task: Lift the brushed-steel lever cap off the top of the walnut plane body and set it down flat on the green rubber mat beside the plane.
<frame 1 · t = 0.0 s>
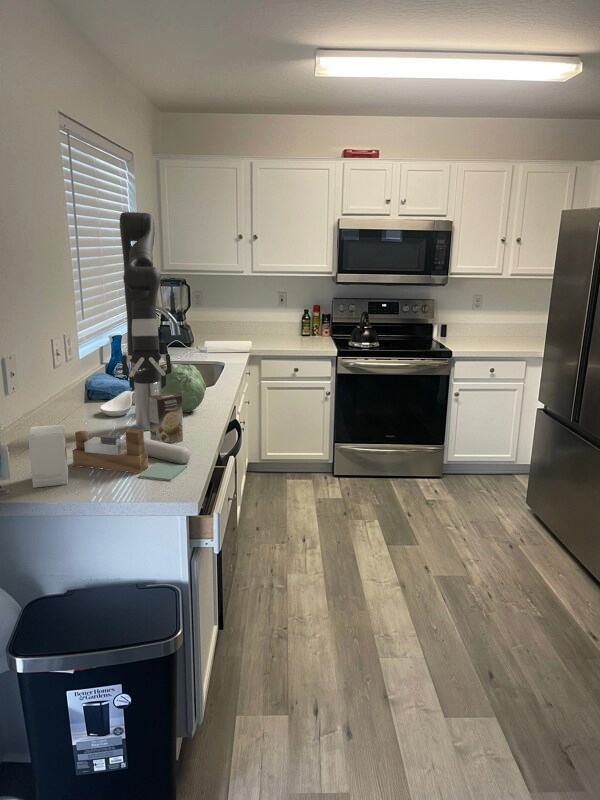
hand: (148, 388, 174), 22 cm above the countertop, tool pointing down, fingers open, 8 cm apart
plane body: (110, 466, 173), on the countertop
lever cap: (106, 450, 172), point 5 cm above the countertop, touching plane body
mat: (163, 472, 169), on the countertop
tube: (152, 455, 180), point 1 cm above the countertop
cabbage: (183, 412, 235), on the countertop
spoon rest: (123, 411, 235), on the countertop
coffee box: (167, 442, 197), on the countertop
supplement box: (51, 481, 162), on the countertop
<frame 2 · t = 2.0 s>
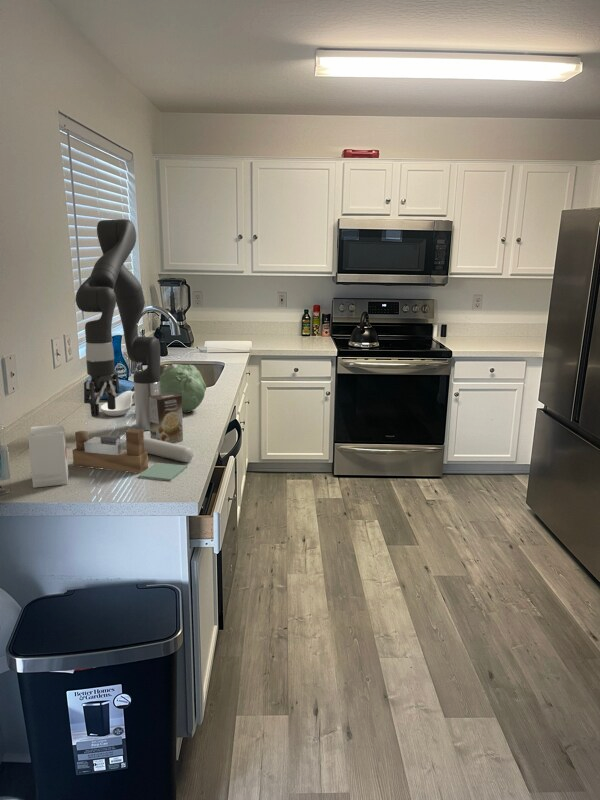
hand: (103, 412, 169), 17 cm above the countertop, tool pointing down, fingers open, 8 cm apart
tube: (154, 450, 180), point 2 cm above the countertop
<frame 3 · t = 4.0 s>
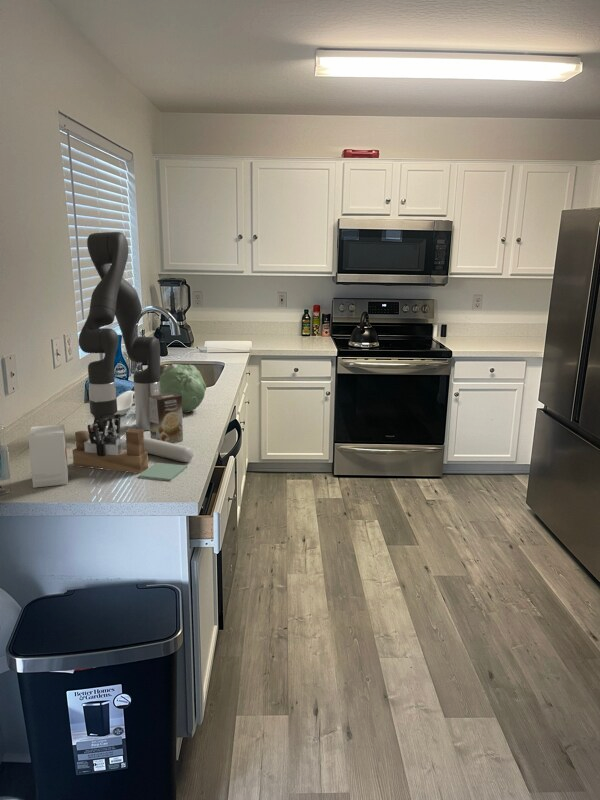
hand: (106, 452, 172), 5 cm above the countertop, tool pointing down, fingers closed on lever cap, 5 cm apart
lever cap: (106, 450, 172), point 5 cm above the countertop, touching gripper, plane body
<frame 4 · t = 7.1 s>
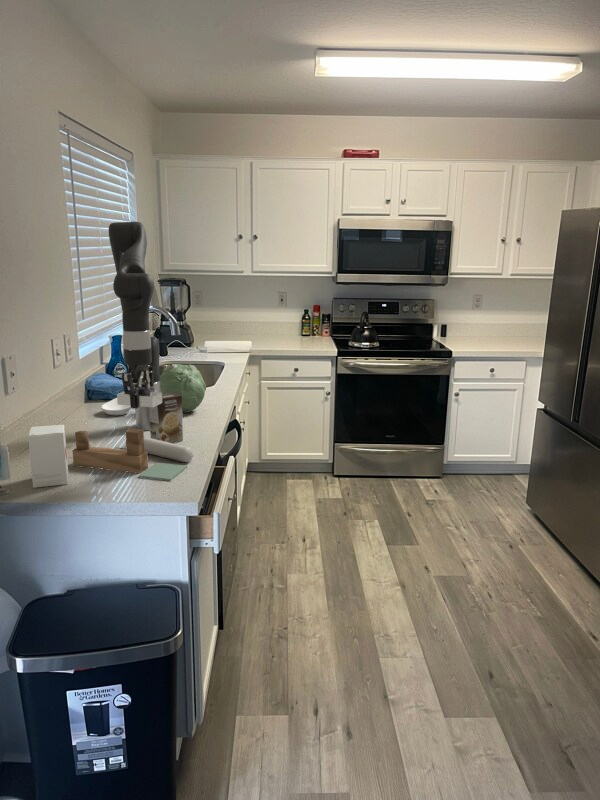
hand: (140, 405, 165), 20 cm above the countertop, tool pointing down, fingers closed on lever cap, 5 cm apart
lever cap: (140, 403, 165), point 20 cm above the countertop, touching gripper
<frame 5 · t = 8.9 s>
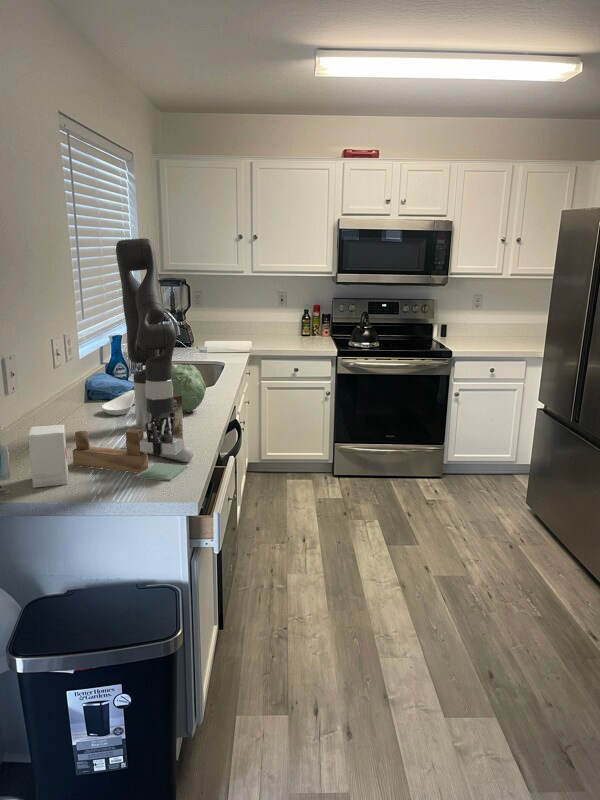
hand: (162, 451, 167), 6 cm above the countertop, tool pointing down, fingers closed on lever cap, 5 cm apart
lever cap: (162, 449, 167), point 7 cm above the countertop, touching gripper
when the fingers open (1 cm above the countertop, at t = 10.4 s): lever cap drops 1 cm, resting on mat.
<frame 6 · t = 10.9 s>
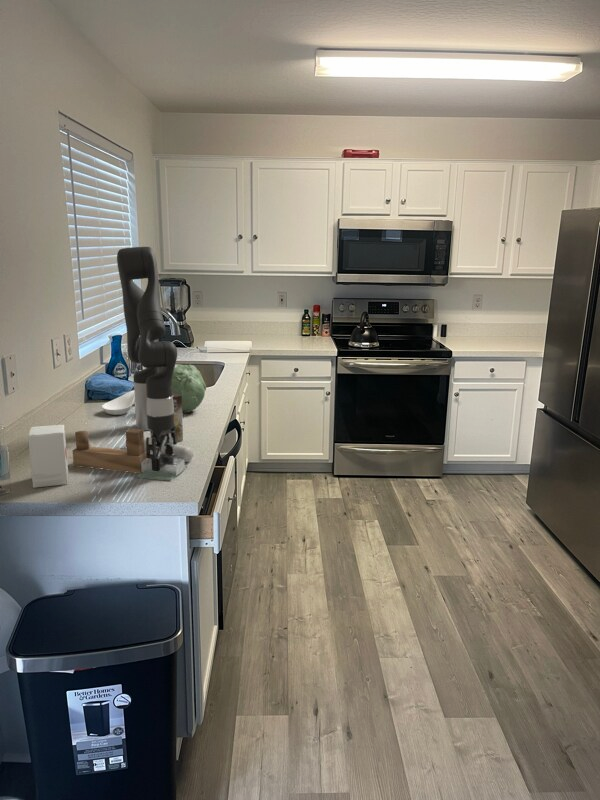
hand: (163, 465, 168), 2 cm above the countertop, tool pointing down, fingers open, 8 cm apart
lever cap: (163, 470, 169), point 1 cm above the countertop, touching mat
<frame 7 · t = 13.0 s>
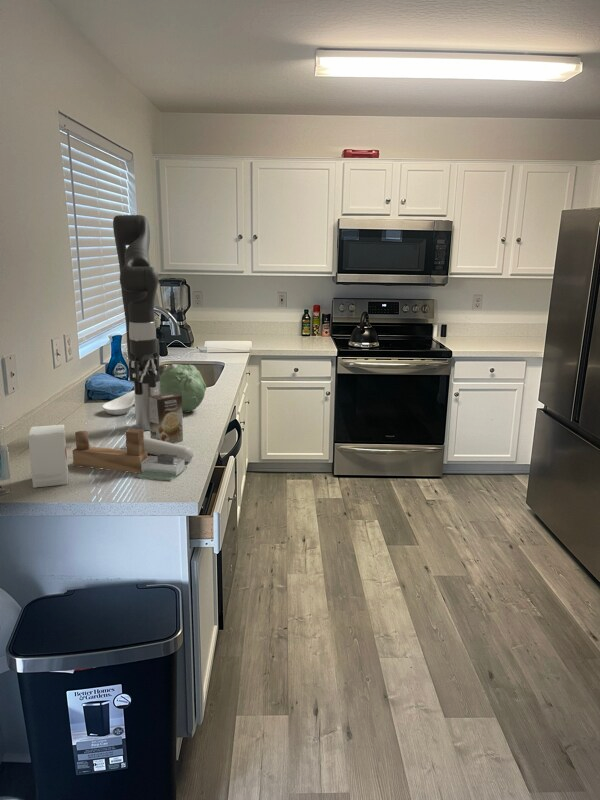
hand: (146, 390, 173), 22 cm above the countertop, tool pointing down, fingers open, 8 cm apart
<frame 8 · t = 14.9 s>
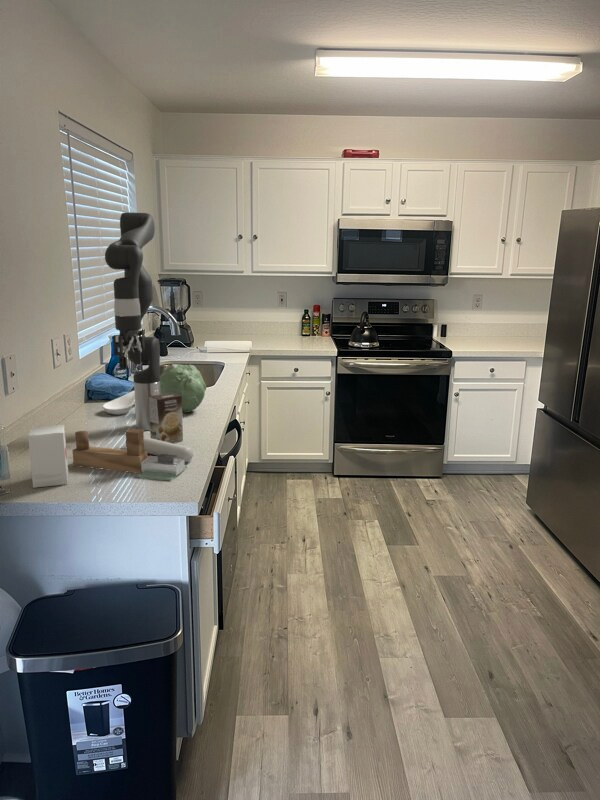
hand: (130, 366, 178), 28 cm above the countertop, tool pointing down, fingers open, 8 cm apart
at the end: lever cap inside the target area on the mat (0.1 cm from its centre), point 0.6 cm above the mat's base; lever cap tilted 0°; the gripper is holding nothing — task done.
